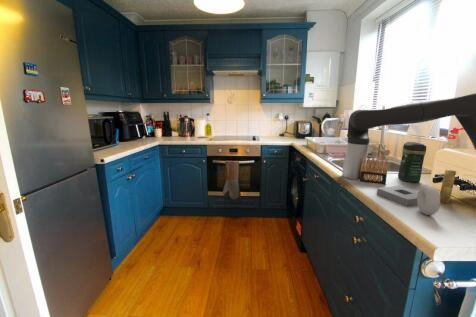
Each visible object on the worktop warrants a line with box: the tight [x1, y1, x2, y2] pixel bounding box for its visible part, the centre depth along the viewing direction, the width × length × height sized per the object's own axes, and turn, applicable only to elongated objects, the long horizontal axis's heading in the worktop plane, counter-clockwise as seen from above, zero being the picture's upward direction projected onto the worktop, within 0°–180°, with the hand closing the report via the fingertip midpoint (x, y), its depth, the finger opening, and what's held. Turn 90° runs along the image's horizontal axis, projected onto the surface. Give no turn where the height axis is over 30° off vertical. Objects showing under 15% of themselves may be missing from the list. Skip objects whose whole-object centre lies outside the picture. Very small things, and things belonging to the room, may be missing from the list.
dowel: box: [439, 169, 457, 204], centre depth 83 cm, size 3×3×12 cm
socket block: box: [376, 185, 419, 207], centre depth 87 cm, size 12×12×2 cm
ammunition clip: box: [358, 156, 389, 186], centre depth 104 cm, size 11×2×12 cm, turn 65°
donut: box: [417, 183, 441, 216], centre depth 73 cm, size 10×4×10 cm, turn 161°
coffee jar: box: [397, 141, 427, 183], centre depth 108 cm, size 10×8×19 cm
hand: (446, 183), depth 83 cm, fingers open, 8 cm apart
